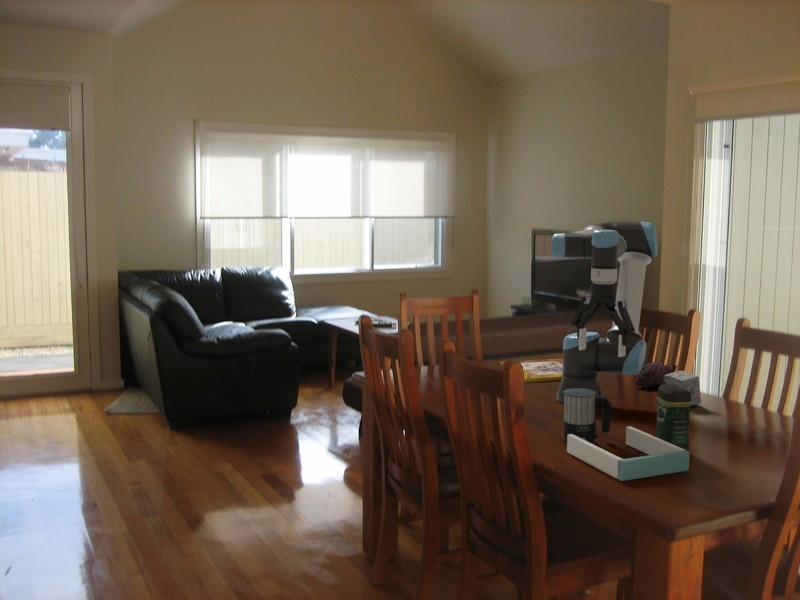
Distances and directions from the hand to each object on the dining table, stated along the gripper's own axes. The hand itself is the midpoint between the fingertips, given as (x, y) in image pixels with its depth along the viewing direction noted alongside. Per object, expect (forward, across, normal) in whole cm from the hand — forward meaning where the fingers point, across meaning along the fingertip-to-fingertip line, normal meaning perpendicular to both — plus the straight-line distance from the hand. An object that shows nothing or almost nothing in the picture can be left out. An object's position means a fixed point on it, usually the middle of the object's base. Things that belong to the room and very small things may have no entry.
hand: (601, 352), depth 253 cm
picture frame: (+24, -57, +50) cm, 80 cm away
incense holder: (+24, +4, +43) cm, 50 cm away
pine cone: (+24, -14, +59) cm, 66 cm away
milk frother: (+23, +1, -13) cm, 27 cm away
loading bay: (+23, +22, -21) cm, 38 cm away
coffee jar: (+23, +26, -5) cm, 35 cm away
